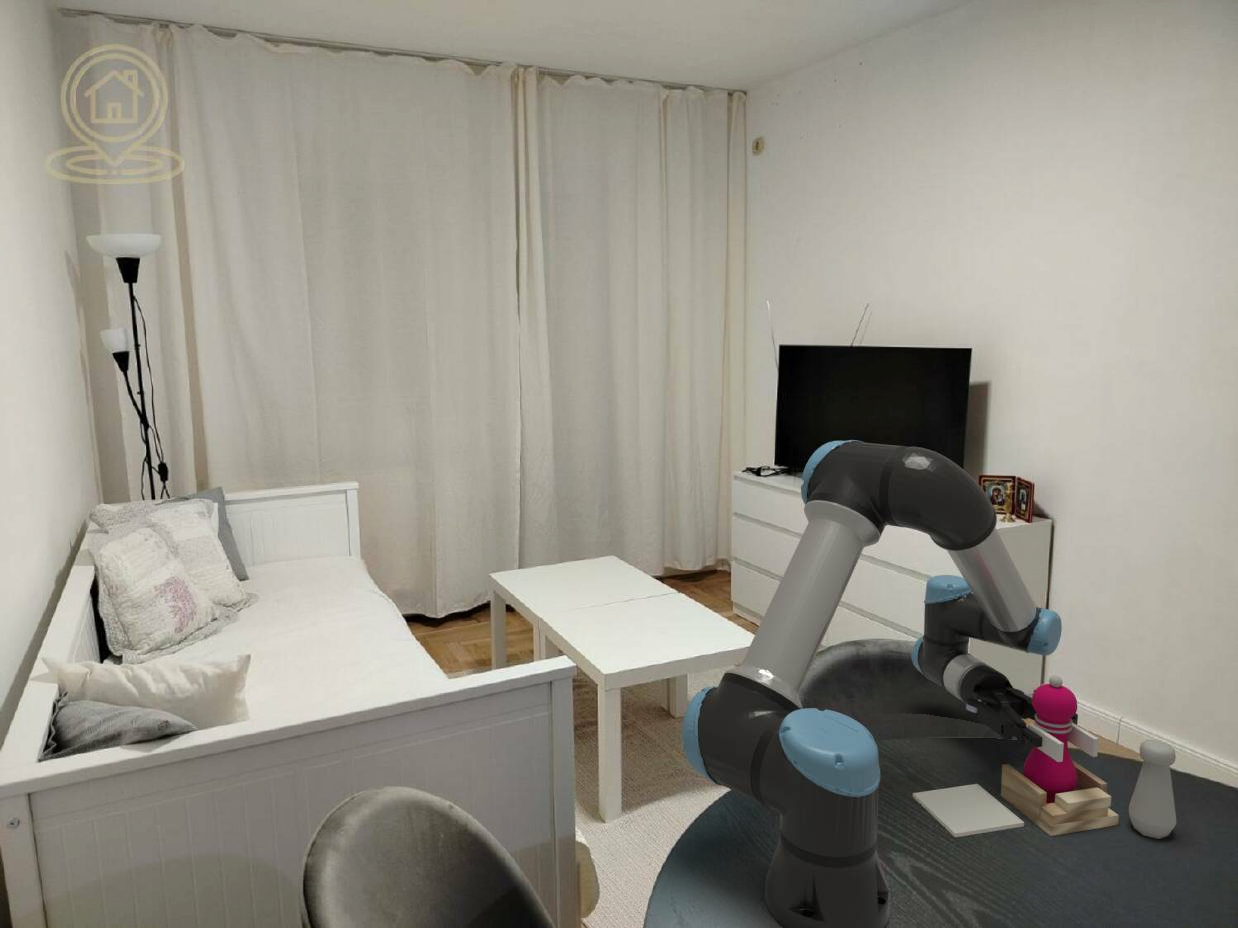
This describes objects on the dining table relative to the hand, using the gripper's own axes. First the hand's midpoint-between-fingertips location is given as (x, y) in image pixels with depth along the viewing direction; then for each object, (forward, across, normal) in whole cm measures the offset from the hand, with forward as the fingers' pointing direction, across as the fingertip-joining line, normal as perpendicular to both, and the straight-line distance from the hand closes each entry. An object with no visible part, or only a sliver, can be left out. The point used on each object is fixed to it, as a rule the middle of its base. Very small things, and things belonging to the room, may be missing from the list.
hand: (1078, 749), depth 125 cm
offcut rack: (-3, 0, -11) cm, 11 cm away
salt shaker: (+5, -9, -11) cm, 15 cm away
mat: (-6, +13, -11) cm, 18 cm away
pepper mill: (-5, 0, -11) cm, 12 cm away
